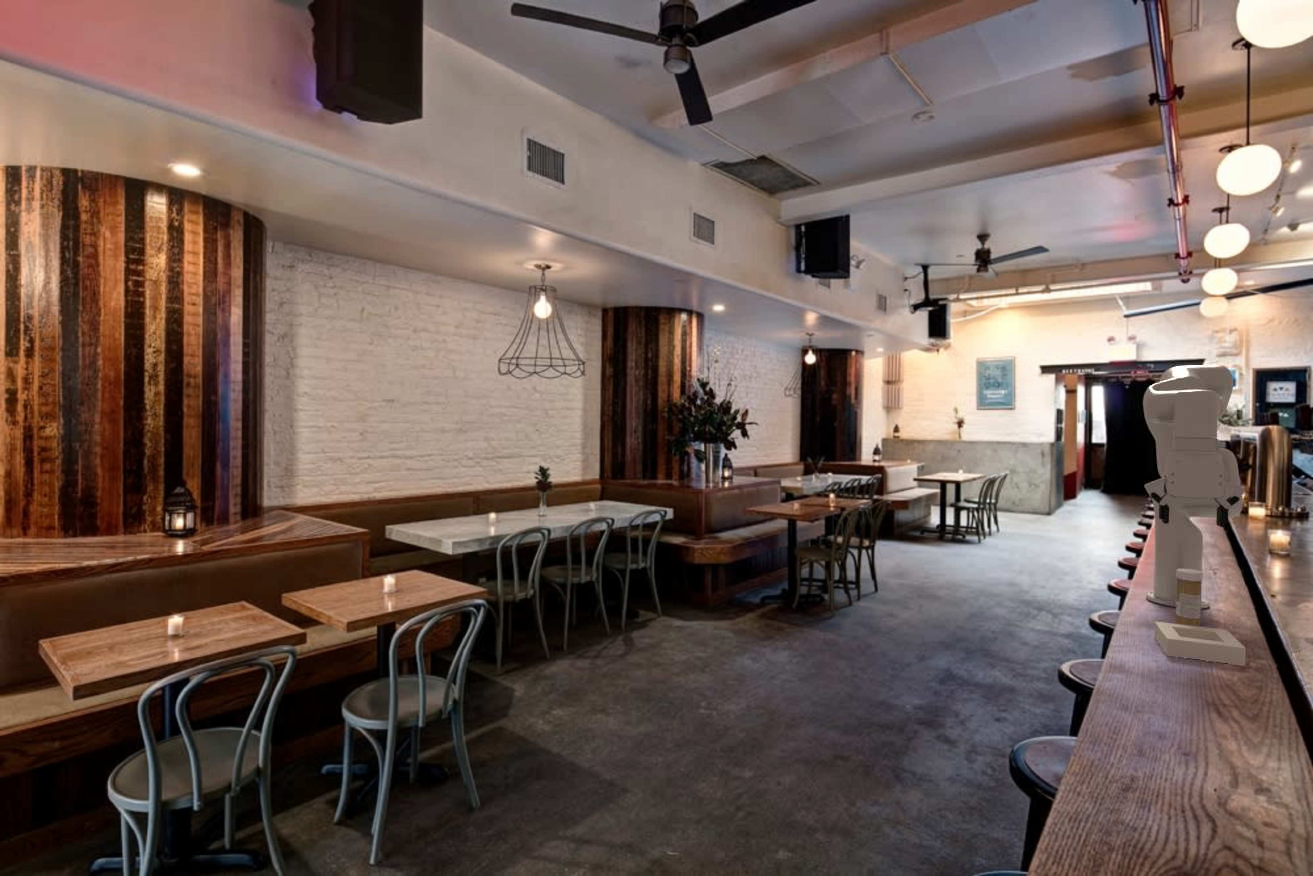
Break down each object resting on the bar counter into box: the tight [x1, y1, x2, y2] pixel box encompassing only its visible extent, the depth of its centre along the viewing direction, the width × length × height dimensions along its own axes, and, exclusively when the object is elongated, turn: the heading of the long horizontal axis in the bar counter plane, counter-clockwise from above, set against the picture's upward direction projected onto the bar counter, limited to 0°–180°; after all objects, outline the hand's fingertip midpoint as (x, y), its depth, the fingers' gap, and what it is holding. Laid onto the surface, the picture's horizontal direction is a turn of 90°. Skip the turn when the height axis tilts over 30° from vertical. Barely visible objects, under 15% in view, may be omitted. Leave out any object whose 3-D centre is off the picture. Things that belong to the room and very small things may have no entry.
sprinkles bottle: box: [1175, 569, 1204, 627], centre depth 146 cm, size 5×5×13 cm
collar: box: [1153, 621, 1247, 667], centre depth 134 cm, size 12×12×4 cm
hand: (1192, 524), depth 145 cm, fingers open, 9 cm apart
